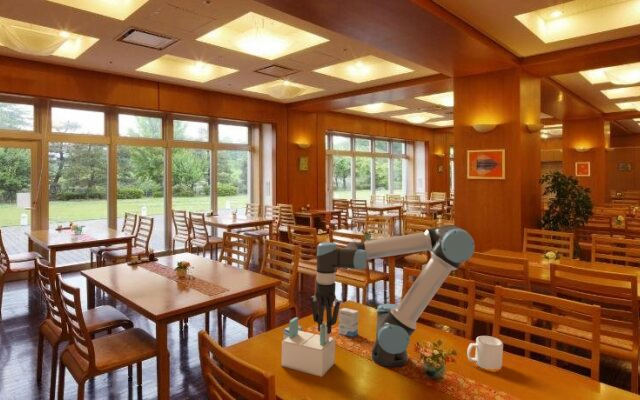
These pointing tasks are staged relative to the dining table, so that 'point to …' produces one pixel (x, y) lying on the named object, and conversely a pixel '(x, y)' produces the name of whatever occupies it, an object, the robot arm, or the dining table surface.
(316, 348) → the flap near
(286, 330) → the medicine box
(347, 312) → the ink box
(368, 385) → the dining table surface
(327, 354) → the carton
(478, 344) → the mug
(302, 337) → the flap far
